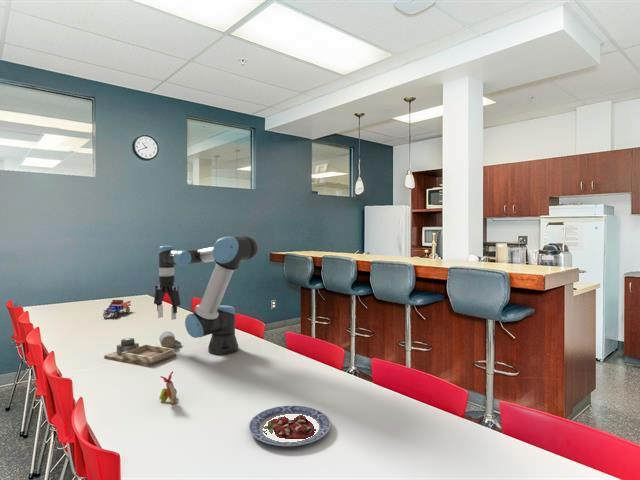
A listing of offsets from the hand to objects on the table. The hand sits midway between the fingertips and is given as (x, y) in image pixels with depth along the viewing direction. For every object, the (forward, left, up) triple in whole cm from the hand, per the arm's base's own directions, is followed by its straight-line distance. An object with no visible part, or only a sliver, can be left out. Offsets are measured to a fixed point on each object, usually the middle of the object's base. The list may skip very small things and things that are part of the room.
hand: (167, 318), depth 214 cm
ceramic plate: (-99, +50, -16) cm, 112 cm away
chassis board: (0, +17, -15) cm, 23 cm away
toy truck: (+88, -43, -16) cm, 99 cm away
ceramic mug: (-1, -1, -16) cm, 16 cm away
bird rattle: (-50, +50, -16) cm, 72 cm away
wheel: (+8, +18, -14) cm, 24 cm away
